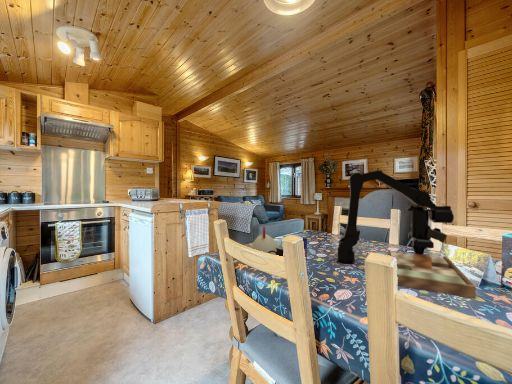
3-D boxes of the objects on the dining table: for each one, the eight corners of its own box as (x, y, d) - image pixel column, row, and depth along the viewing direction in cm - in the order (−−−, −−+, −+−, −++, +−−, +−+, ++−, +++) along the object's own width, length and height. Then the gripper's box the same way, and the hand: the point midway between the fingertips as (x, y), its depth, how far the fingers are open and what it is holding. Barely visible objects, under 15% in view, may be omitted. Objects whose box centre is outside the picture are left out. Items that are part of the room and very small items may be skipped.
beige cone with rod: (277, 255, 115) (277, 225, 115) (280, 264, 101) (280, 230, 101) (249, 255, 115) (249, 225, 115) (248, 264, 102) (248, 230, 101)
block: (415, 266, 90) (415, 256, 90) (413, 262, 95) (413, 253, 95) (431, 268, 88) (431, 258, 88) (428, 264, 92) (428, 254, 92)
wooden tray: (390, 284, 80) (390, 274, 80) (387, 257, 111) (387, 250, 111) (475, 298, 70) (475, 286, 69) (446, 264, 100) (446, 256, 100)
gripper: (451, 227, 83) (451, 270, 83) (439, 220, 99) (438, 256, 100) (414, 224, 88) (413, 265, 88) (408, 218, 105) (407, 253, 105)
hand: (419, 259), depth 95 cm, fingers closed
